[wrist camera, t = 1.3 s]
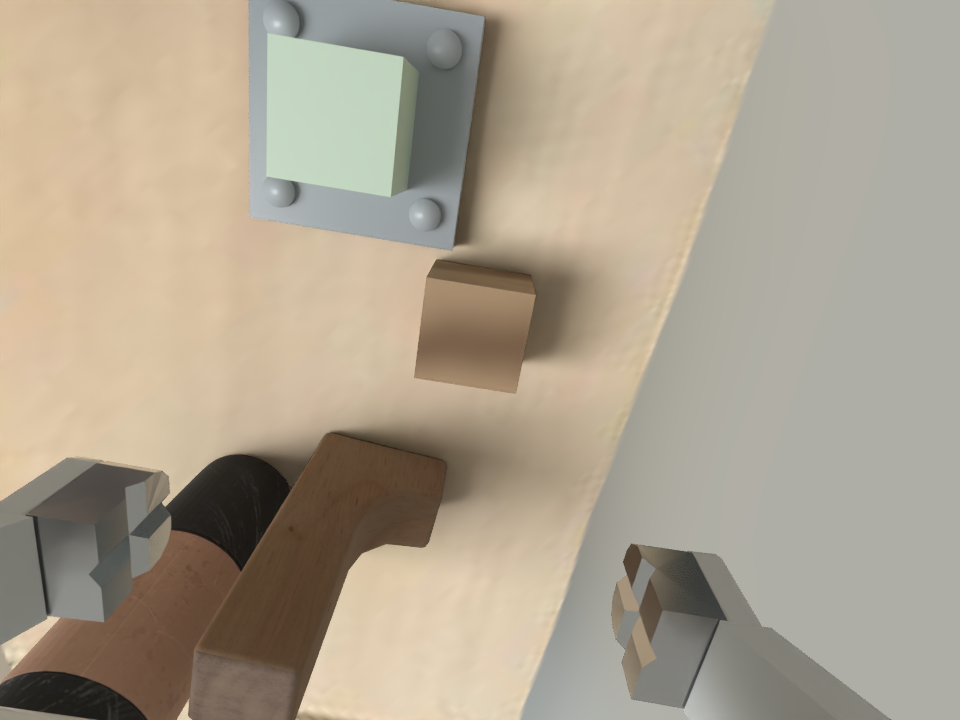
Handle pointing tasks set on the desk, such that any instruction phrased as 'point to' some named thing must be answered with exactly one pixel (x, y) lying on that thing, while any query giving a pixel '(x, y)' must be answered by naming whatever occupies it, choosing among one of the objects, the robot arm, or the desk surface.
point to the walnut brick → (474, 326)
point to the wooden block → (308, 575)
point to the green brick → (339, 116)
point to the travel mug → (155, 607)
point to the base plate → (437, 126)
